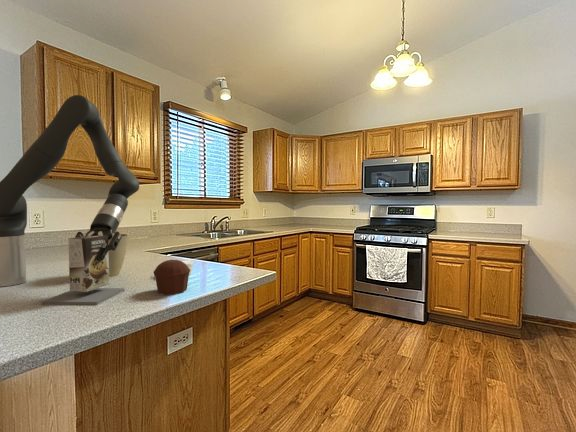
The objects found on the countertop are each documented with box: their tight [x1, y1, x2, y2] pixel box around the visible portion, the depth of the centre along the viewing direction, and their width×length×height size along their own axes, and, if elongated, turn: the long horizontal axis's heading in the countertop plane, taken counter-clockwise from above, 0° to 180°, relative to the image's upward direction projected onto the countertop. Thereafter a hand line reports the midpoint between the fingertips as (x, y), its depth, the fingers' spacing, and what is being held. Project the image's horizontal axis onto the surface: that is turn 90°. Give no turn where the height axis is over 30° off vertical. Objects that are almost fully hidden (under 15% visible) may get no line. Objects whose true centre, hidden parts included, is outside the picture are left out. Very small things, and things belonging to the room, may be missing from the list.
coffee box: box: [68, 235, 110, 292], centre depth 96 cm, size 9×6×16 cm
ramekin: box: [178, 259, 194, 276], centre depth 123 cm, size 11×11×5 cm
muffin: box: [153, 259, 190, 296], centre depth 100 cm, size 12×11×10 cm
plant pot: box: [108, 233, 130, 278], centre depth 122 cm, size 15×15×16 cm
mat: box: [40, 287, 125, 306], centre depth 94 cm, size 16×14×1 cm
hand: (86, 260), depth 94 cm, fingers closed on coffee box, 7 cm apart
